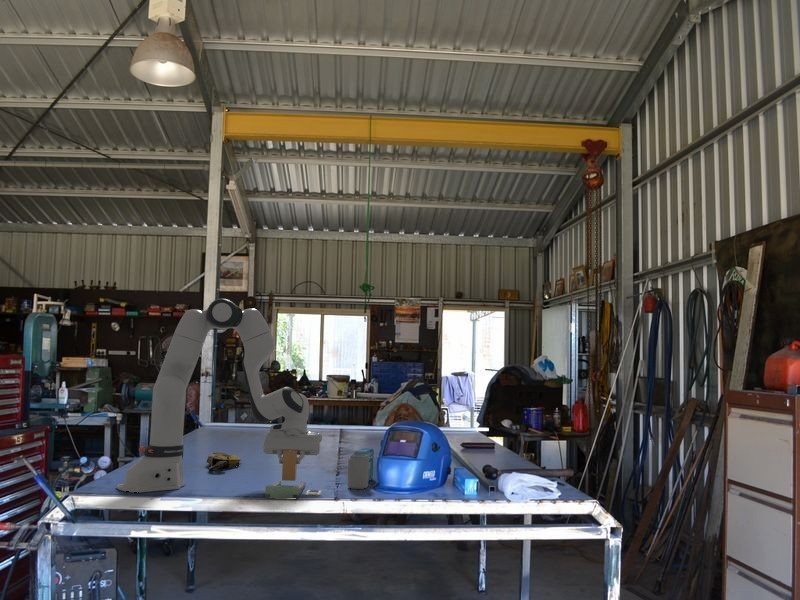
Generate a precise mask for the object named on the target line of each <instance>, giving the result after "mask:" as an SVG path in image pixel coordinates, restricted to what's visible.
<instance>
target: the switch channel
mask: <svg viewBox="0 0 800 600" xmlns="http://www.w3.org/2000/svg"><path fill="white" fill-rule="evenodd" d="M281 484H282V480H276V481H275V482H274V483H273V484H271V485H270V484H268V485H265V493H264V495H265V496H264V499H265V498H296V499H295V500H298V499H299V497H300V496H299V495H301V493H302V492H303V490H304V489H305V487H306V481H301V482H300V483H299V485H283V484H282V485H281ZM322 491H323V490H321V489H319V490H318V489H314V490H313V489H307V491H305V494H304V496H321V494H322ZM297 498H298V499H297Z"/></svg>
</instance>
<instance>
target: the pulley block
mask: <svg viewBox="0 0 800 600" xmlns="http://www.w3.org/2000/svg"><path fill="white" fill-rule="evenodd" d="M241 461H242V458H241V457H240V456H237V455H234V454H228V453H223V452H213V453H211V454H209V455H208V457H207V459H206V463H208V465H209V466H210V467H208V472H214V471H215V472H216V471H218V470H227V468H228V469H233V468H232V467H235V468H237V467H236V466H239V465H240V466H241V464H240V462H241ZM240 466H239V467H240Z"/></svg>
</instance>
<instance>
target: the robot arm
mask: <svg viewBox="0 0 800 600" xmlns="http://www.w3.org/2000/svg"><path fill="white" fill-rule="evenodd" d="M228 329H233V330H235V331H236V332H237V334H238V336H239V338H240V340H241V342H242V345H243V348H244V357H243V359H242V370H243V375H244V380H245V384H246V387H247V392H248V396H249V400H250V409H251V410H250V411H251V414H252V417H253V419H254V420H256V421H257V422H259V423H262V424H265V425H266V424H268V423H271V422H273V421H274V420H276V419H279V418H281V417H283V418H284V422H281V423H280V422H279V423H278V424H277V423H276V424H272V425H270V426H269V432H268V433H267V434H266V436H265V438H264V441H263V446H262V448H263V452H264V454H265V455H277V458H278V463H279V464H281V465H283V451H284V450H297V457H296V464H297V465H301V461H302V460H303V459H304V458H305V456H318V455H319V454H320V450H321V446H320V445H321V444H320V443H321V442H322V440H323V439H322V438H323V435H322V434H321V433H319V432H316V431H315V432H311V431H307V429H308V423H307V422H308V420H309V414H310V404H309V400H308V397H307V396H306V395H304V394H303V393H300V392H298V391H296V390H295V389H294V388H293V387H289V386H285V387H281V388H280V389H277V390H274V391H273V392H270V393H267V394H264V389H263V387H262V381H261V378H260V369H261V367H262V366H263V365H264V364H265V363H266V362H267V360H269V358H270V357H272V354H273V352H274V350H275V346H276V344H275V343H276V342H275V339H274V337H273V334H272V332H271V330H270V327H269V325H268V323H267V321H266V319H265V318H264V316H263V314H262V313H261V312H260V311H259V310H258V309H256V308H251V307H250V308H246V309H242V308H241V307H240V306H238V305H237V304H236V303H234V301H232V300H230V299H227V298H217V299H214V300H213V301H212V302H210V304H209V305H208V306H207V309H205V310H200V309H197V308H195V309H193V308H192V309H188V310H186V311H185V312H184V313H183V314H182V317H181V318H180V320H179V322H178V323H177V326H176V328H175V330H174V333H173V335H172V338H171V339H170V340H171V341H170V342H169V343H170V344H169V347H168V348H167V351H166V354H165V355H164V359H163V361H162V362H163V363H162V364H161V367H160V371H159V373H158V375H157V378H156V381H155V383H154V385H153V388H152V400H151V401H152V403H151V416H150V417H151V418H150V419H151V422H150V423H151V424H150V437H149V445H148V446H147V447H146V446H143V445H142V446H140V447H139V448H138V451H139V453H144V454H143V455H144V456H143V457H141V458H140V459H139V460H138V461H137V462H135V463H134V464H132V466H130V467H129V468H128V469H127V470H126V472H125V475H124V480H123V483H119V484H117V485H116V489H117V490H120V491H122V492H126V491H129V492H128V493H134V492H137V494H138V492H139V493H146V492H147V493H149V492H159V491H160V492H161V491H171V490H180V489H181V487H184V486H185V485H186V483H185V479H184V473H183V472H184V471H183V458H184V450H185V448H184V447H185V446H184V444H183V442H184V440H183V439H184V429H185V428H184V425H185V424H184V423H185V411H186V398H187V397H186V396H187V389H188V386H189V383H190V380H191V379H192V376H193V373H194V370H195V368H196V366H197V363H198V360H199V357H200V355H201V353H202V350H203V347H204V344H205V341H206V338H207V336H208V334H209V332H210V331H212V330H213V331H224V330H228Z"/></svg>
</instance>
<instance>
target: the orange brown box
mask: <svg viewBox="0 0 800 600" xmlns="http://www.w3.org/2000/svg"><path fill="white" fill-rule="evenodd" d="M282 457H283V464H282V468H281V469H282V473H281V481H289V482H292V481H293V482H294V481H296V480H297V468H298V467H297V466H298V464H296V457H298V455H297V450H284V451H283V455H282Z"/></svg>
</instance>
